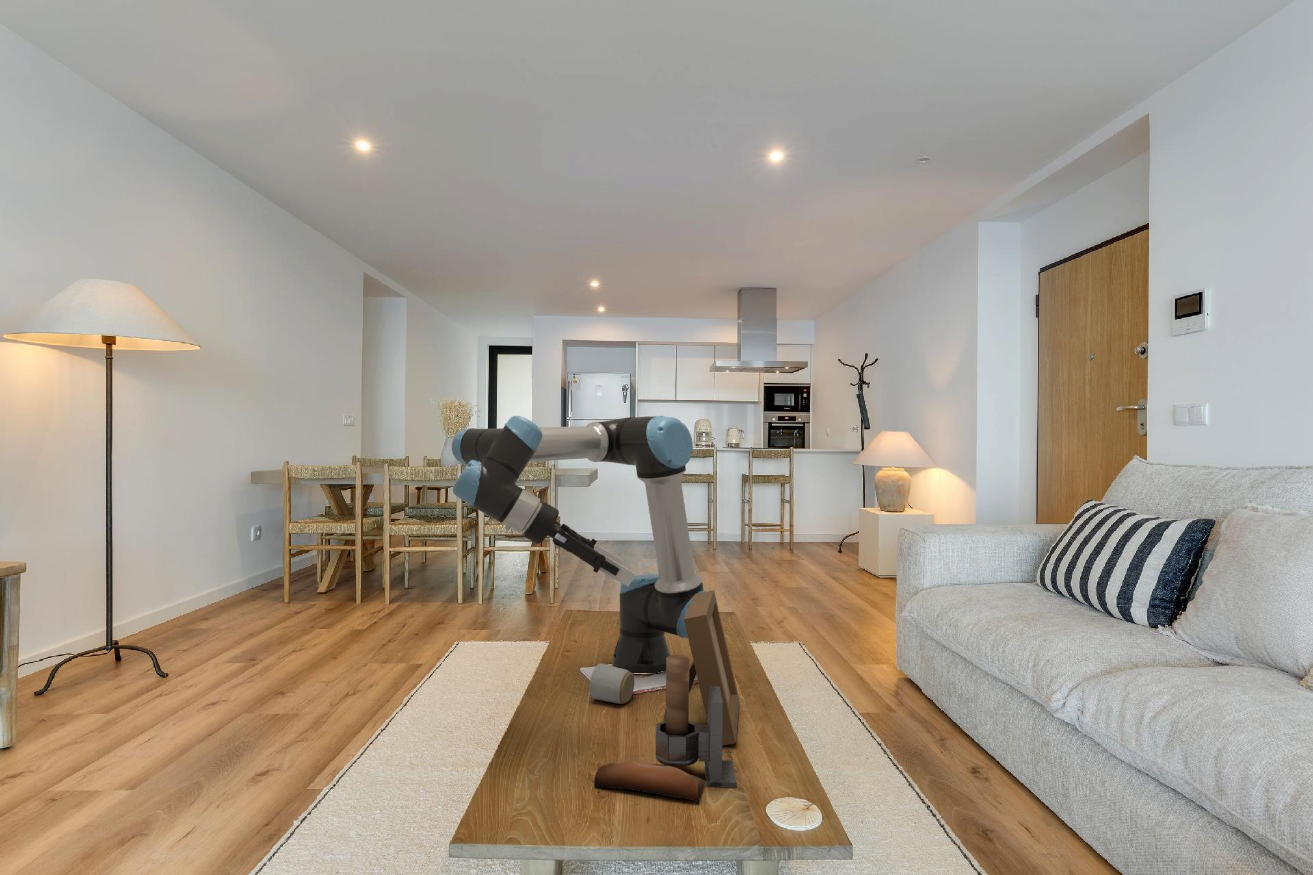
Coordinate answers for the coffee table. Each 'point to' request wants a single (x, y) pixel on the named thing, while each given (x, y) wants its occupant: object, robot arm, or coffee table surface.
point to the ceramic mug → (611, 684)
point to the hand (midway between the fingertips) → (625, 572)
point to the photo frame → (711, 660)
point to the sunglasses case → (650, 779)
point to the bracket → (699, 745)
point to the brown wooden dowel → (677, 695)
